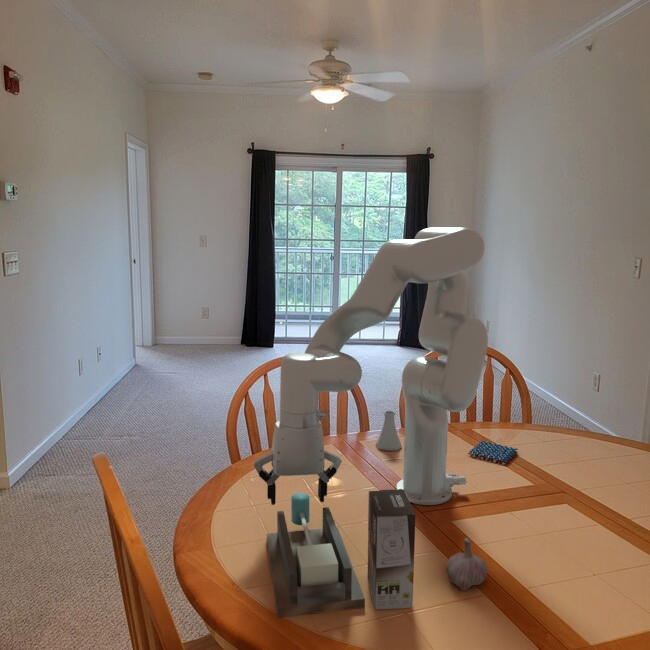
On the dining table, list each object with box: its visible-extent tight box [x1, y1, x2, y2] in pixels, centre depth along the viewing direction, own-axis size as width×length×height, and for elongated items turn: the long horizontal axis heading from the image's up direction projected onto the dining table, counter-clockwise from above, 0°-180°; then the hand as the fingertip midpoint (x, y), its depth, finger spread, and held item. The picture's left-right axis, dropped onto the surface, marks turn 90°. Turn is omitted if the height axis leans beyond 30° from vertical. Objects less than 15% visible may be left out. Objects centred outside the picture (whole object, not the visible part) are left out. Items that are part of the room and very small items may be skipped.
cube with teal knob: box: [290, 492, 338, 587], centre depth 102 cm, size 6×25×5 cm, turn 10°
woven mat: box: [467, 440, 519, 466], centre depth 151 cm, size 10×11×2 cm
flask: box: [375, 410, 403, 452], centre depth 155 cm, size 7×7×10 cm
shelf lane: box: [266, 506, 366, 618], centre depth 99 cm, size 14×22×6 cm, turn 10°
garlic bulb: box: [446, 537, 488, 591], centre depth 96 cm, size 8×7×8 cm
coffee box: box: [366, 488, 416, 610], centre depth 93 cm, size 9×6×16 cm
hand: (297, 500), depth 111 cm, fingers open, 9 cm apart
